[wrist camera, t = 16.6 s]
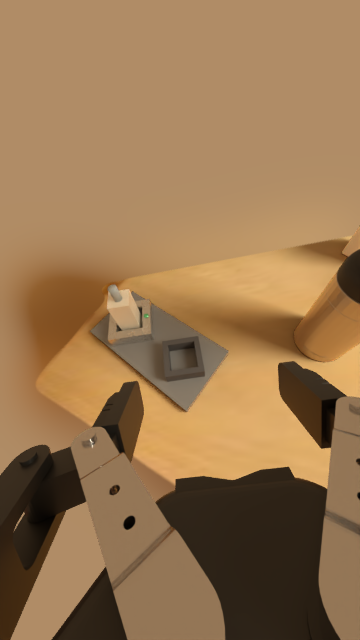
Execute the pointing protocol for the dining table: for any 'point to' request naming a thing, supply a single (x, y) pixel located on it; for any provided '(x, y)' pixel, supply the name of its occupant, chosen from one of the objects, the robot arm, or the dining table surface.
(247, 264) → the dining table surface
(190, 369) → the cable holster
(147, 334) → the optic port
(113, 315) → the plug
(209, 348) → the port board
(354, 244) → the milk carton
